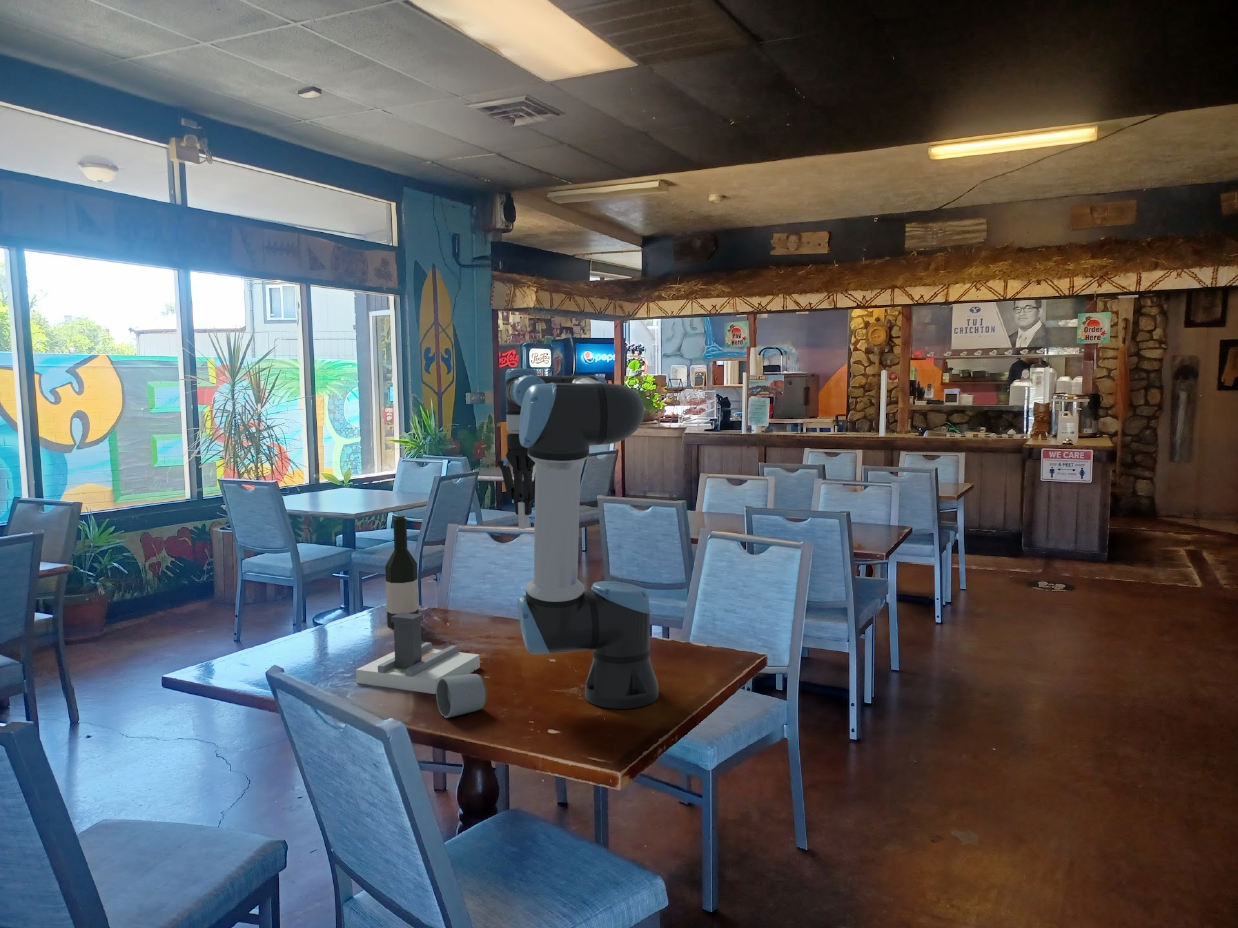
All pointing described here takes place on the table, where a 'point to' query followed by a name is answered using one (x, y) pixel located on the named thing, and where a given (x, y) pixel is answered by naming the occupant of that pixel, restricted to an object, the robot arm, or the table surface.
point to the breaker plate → (418, 669)
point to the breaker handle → (407, 639)
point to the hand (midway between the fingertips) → (523, 527)
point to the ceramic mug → (460, 694)
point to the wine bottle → (401, 575)
